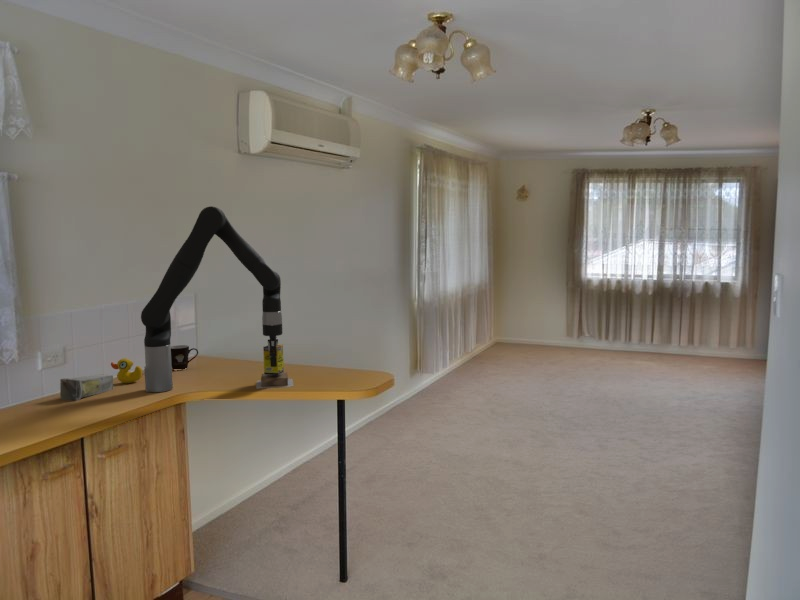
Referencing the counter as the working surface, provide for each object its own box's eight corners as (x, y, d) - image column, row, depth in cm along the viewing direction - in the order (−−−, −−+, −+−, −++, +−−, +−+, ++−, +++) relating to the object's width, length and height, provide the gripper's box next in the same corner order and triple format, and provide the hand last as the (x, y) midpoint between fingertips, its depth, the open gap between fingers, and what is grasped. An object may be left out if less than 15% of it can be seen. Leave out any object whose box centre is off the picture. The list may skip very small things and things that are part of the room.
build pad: (255, 389, 240) (255, 388, 240) (257, 381, 253) (257, 380, 253) (293, 387, 242) (293, 386, 242) (292, 379, 256) (292, 378, 256)
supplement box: (278, 375, 244) (277, 347, 243) (263, 374, 245) (262, 346, 244) (284, 371, 250) (283, 344, 249) (269, 371, 251) (269, 344, 250)
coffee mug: (166, 371, 277) (165, 348, 276) (174, 367, 285) (173, 345, 284) (192, 371, 276) (191, 348, 275) (199, 367, 285) (198, 345, 284)
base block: (261, 387, 242) (261, 379, 242) (262, 381, 252) (261, 373, 251) (287, 385, 244) (287, 377, 244) (287, 379, 254) (287, 372, 253)
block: (102, 388, 247) (101, 368, 246) (118, 390, 244) (116, 369, 243) (60, 400, 230) (58, 378, 229) (76, 402, 227) (75, 380, 226)
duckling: (111, 385, 250) (109, 360, 249) (112, 382, 255) (111, 358, 254) (142, 383, 254) (140, 358, 253) (143, 380, 259) (141, 356, 258)
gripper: (262, 320, 252) (264, 361, 253) (261, 325, 238) (263, 368, 239) (282, 320, 253) (283, 360, 255) (282, 324, 239) (283, 367, 241)
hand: (273, 364), depth 247 cm, fingers closed on supplement box, 7 cm apart
